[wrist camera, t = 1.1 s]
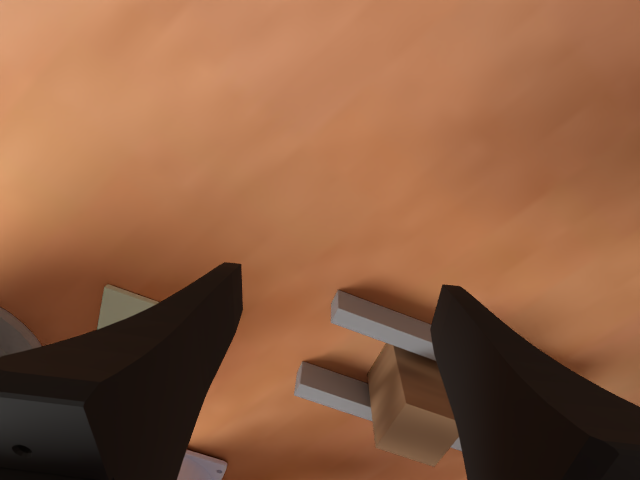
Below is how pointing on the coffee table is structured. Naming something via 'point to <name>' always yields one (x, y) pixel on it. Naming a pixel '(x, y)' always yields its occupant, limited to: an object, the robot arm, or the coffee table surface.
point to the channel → (374, 324)
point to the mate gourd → (15, 335)
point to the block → (410, 406)
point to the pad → (121, 305)
